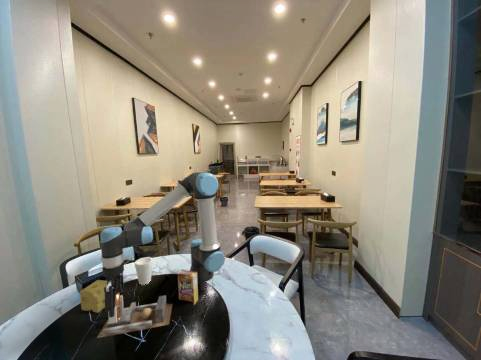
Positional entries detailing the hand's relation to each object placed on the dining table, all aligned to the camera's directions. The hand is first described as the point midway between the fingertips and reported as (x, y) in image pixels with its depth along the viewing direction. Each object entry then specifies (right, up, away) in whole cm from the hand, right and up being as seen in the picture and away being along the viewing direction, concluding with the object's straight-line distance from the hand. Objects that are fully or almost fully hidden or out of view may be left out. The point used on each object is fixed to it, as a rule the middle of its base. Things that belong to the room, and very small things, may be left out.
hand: (116, 316), depth 85 cm
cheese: (-18, -4, +14) cm, 23 cm away
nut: (+12, -3, +3) cm, 12 cm away
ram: (+2, -3, +1) cm, 3 cm away
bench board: (+8, -4, +2) cm, 10 cm away
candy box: (+27, -3, +15) cm, 31 cm away
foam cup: (-4, -2, +33) cm, 33 cm away
